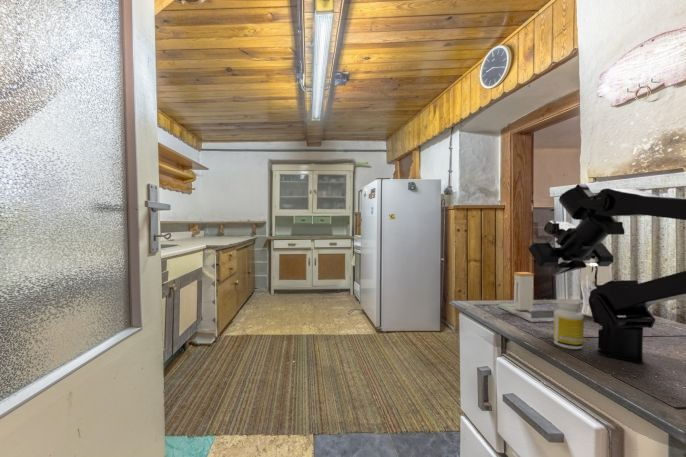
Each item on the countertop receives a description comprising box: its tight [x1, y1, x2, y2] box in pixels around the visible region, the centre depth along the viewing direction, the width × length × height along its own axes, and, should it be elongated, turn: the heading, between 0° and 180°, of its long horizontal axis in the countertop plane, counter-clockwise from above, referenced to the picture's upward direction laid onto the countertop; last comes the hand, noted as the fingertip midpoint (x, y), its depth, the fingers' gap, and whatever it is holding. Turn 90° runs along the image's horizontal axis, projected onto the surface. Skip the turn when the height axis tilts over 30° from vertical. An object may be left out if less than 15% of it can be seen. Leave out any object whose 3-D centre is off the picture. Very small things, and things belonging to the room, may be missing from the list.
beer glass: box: [579, 262, 611, 318], centre depth 96 cm, size 7×7×15 cm
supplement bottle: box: [553, 298, 585, 350], centre depth 72 cm, size 5×5×10 cm
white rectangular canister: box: [513, 271, 534, 310], centre depth 97 cm, size 3×4×11 cm
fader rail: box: [498, 303, 555, 323], centre depth 97 cm, size 16×7×3 cm, turn 6°
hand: (552, 274), depth 86 cm, fingers closed
